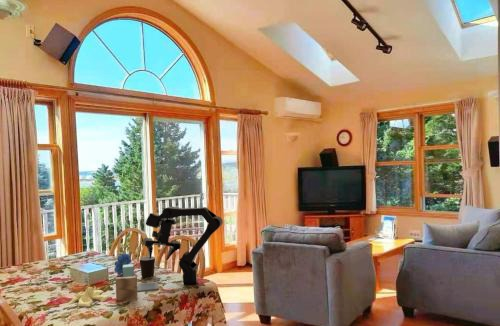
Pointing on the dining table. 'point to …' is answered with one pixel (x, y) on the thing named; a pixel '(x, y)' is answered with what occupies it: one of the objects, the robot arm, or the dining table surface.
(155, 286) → the slate coaster
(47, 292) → the dining table surface
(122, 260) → the grapes
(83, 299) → the cloth
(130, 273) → the letter block
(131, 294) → the walnut screen
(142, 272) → the coffee mug
